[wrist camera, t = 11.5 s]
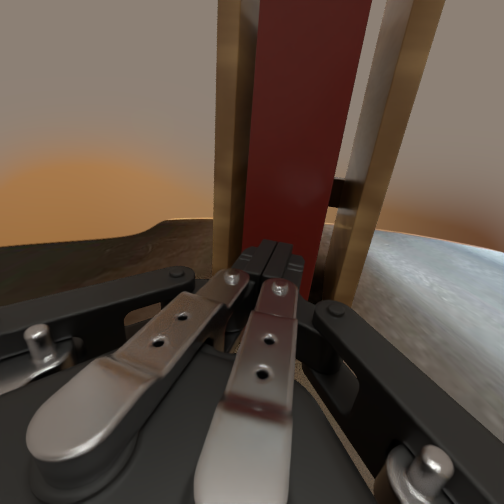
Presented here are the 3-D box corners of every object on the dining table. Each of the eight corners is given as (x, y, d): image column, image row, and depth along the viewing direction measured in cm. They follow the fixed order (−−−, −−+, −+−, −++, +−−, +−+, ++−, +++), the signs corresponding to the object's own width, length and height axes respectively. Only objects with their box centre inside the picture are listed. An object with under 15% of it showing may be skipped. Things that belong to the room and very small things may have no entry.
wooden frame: (334, 265, 33) (409, -35, 21) (335, 358, 19) (545, -325, 8) (257, 250, 35) (286, -32, 23) (210, 325, 22) (222, -256, 10)
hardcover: (309, 265, 32) (351, 55, 23) (295, 358, 19) (381, -45, 10) (272, 258, 33) (299, 53, 24) (234, 342, 20) (262, -41, 11)
